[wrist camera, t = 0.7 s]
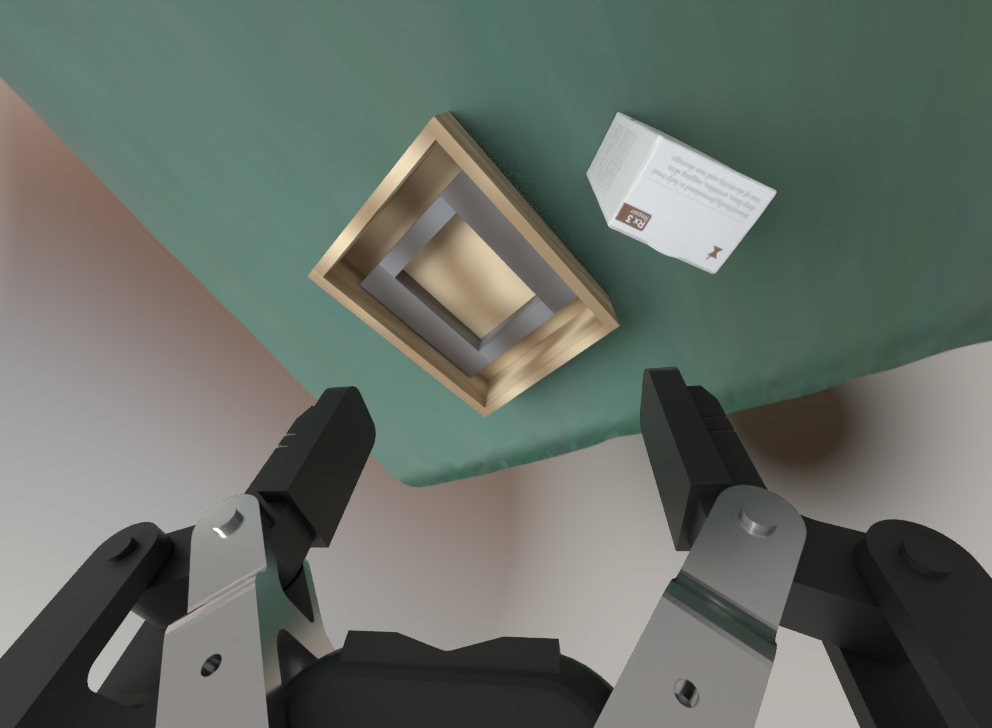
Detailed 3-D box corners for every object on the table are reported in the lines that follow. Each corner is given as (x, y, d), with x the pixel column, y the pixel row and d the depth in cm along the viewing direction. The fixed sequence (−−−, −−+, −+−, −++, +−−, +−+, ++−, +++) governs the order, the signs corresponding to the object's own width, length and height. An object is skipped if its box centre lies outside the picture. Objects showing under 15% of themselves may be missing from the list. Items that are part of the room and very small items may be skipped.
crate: (448, 111, 26) (433, 116, 22) (608, 295, 33) (619, 325, 29) (335, 252, 32) (307, 276, 28) (489, 382, 39) (484, 417, 35)
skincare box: (694, 148, 26) (793, 186, 16) (654, 212, 29) (720, 279, 19) (612, 107, 25) (667, 123, 15) (579, 178, 28) (607, 229, 18)
